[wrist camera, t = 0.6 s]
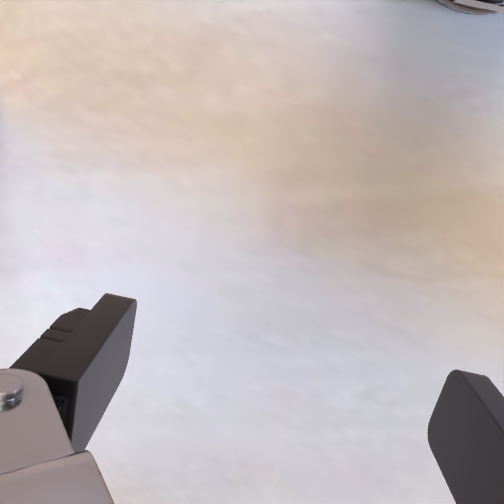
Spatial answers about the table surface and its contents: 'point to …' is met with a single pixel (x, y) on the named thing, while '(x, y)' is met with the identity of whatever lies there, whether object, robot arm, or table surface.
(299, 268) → the table surface
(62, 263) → the table surface
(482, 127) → the table surface
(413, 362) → the table surface
